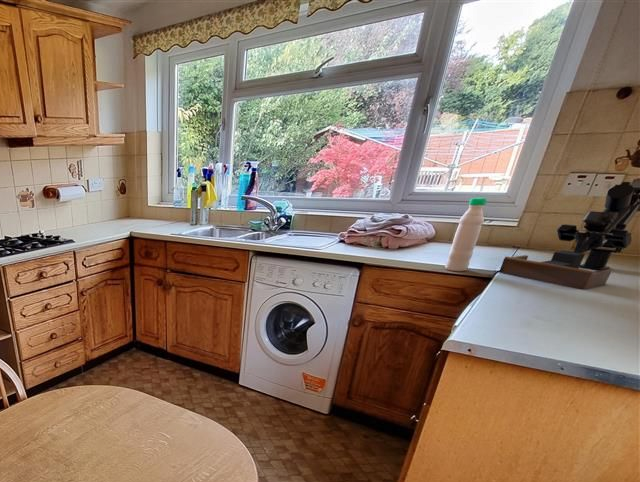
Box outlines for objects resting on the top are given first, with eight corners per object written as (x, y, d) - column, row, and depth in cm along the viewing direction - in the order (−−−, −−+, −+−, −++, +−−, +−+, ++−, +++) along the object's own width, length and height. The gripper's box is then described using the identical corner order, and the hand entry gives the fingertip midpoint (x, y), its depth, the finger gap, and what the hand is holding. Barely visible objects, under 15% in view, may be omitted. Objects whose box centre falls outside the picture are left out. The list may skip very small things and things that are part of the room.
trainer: (553, 273, 155) (563, 250, 151) (574, 277, 149) (585, 253, 146) (529, 277, 151) (539, 254, 147) (551, 281, 145) (561, 257, 142)
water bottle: (460, 272, 159) (484, 199, 147) (440, 269, 164) (462, 198, 153) (470, 270, 162) (495, 198, 150) (451, 266, 167) (473, 196, 155)
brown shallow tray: (519, 268, 162) (525, 253, 159) (604, 284, 141) (613, 267, 138) (498, 272, 158) (504, 256, 155) (583, 289, 137) (591, 271, 135)
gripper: (572, 199, 150) (539, 235, 152) (645, 204, 135) (607, 243, 136) (576, 222, 156) (543, 256, 158) (645, 228, 141) (609, 266, 142)
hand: (574, 255), depth 149 cm, fingers closed, pressing on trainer
